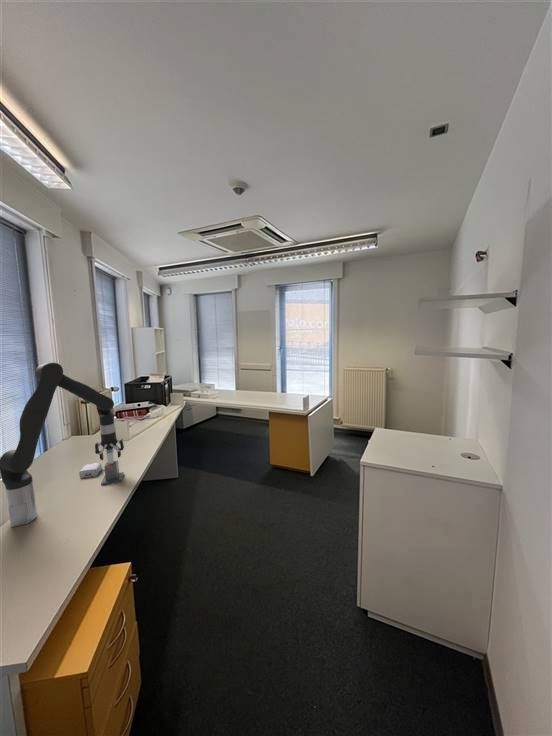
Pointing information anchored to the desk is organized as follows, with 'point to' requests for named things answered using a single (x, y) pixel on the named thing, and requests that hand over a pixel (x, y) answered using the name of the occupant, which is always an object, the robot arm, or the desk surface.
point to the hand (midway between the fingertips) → (110, 458)
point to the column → (110, 456)
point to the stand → (112, 474)
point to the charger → (90, 470)
